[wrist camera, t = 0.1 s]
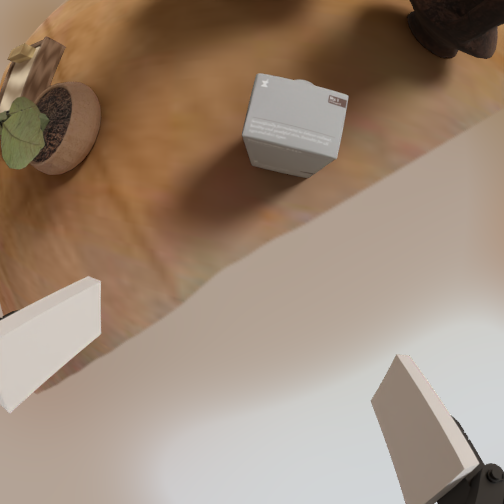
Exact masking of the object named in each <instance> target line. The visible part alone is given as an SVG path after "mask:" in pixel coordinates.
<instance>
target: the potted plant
mask: <svg viewBox="0 0 504 504" xmlns="http://www.w3.org/2000/svg"><path fill="white" fill-rule="evenodd" d="M100 122H101V107H100V104H99V100H98V98H97V96H96V94H95V93H94V92H93V90H92V89H91V88H90V87H88V86H87V85H85V84H83V83H80V82H64V83H58V84H55V85H52V86H50V87H49V88H47V89H46V90H44V91H43V92H42V93H41V94H40V95H39V97H38V98H37V99H36V101H35V102H32V101H31V100H29V99H27V98H26V97H17V98H16V99H15V100H14V101H13V102H12V104H11V107H10V109H9V110H8V111H4V112H2V113H0V135H1V149H2V157H3V159H4V160H5V162H6V164H7V165H8V167H9V168H13V169H22V168H25V167H26V166H27V165H28V164H29V163H30V164H31V165H32V166H34V167H35V168H36V169H37V170H39V171H41V172H43V173H46V174H48V175H57V174H63V173H65V172H67V171H69V170H71V169H73V168H75V167H76V166H77V165H78V164H79V163H81V162H82V161H83V160H84V158H85V157H86V156H87V155H88V153H89V152H90V150H91V148H92V146H93V144H94V143H95V140H96V137H97V135H98V132H99V128H100Z"/></svg>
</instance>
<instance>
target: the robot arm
mask: <svg viewBox="0 0 504 504" xmlns="http://www.w3.org/2000/svg"><path fill="white" fill-rule="evenodd" d="M100 301H101V281H99V280H97V279H94V278H91V277H89V276H88V277H86V278H83V279H81V280H79V281H77V282H75V283H73V284H71V285H69V286H67V287H65V288H63V289H61V290H58V291H56V292H54V293H52V294H50V295H48V296H46V297H44V298H42V299H40V300H38V301H36V302H34V303H33V304H31V305H29V306H27V307H25V308H23V309H21V310H17V311H13V312H10V313H8V314H7V315H5V316H3V318H0V405H1V406H3V407H4V409H5V410H7V411H8V412H9V413H11V412H12V411H13V410H14V409H15V408H16V407H17V406H18V405H19V404H21V403H22V402H23V401H24V400H25V399H26V398H27V397H28V396H29V395H30V394H32V393H33V392H34V391H35V390H36V389H37V388H38V387H39V386H41V385H42V384H43V383H44V382H45V381H46V380H47V379H49V378H50V377H51V376H52V375H53V374H54V373H55V372H57V371H58V370H59V369H60V368H61V367H62V366H64V365H65V364H66V363H67V362H68V361H69V360H71V359H72V358H73V357H74V356H75V355H76V354H78V353H79V352H80V351H81V350H82V349H84V348H85V347H86V346H87V345H88V344H90V343H91V342H92V341H93V340H94V339H96V338H97V337H98V336H99V335H100V334H101V307H100ZM371 403H372V406H373V408H374V411H375V414H376V416H377V419H378V422H379V424H380V427H381V430H382V433H383V435H384V438H385V441H386V443H387V447H388V449H389V453H390V455H391V458H392V461H393V464H394V467H395V471H396V473H397V477H398V480H399V483H400V486H401V490H402V493H403V496H404V500H405V503H406V504H434V503H436V502H437V503H438V504H504V472H503V470H502V469H501V468H500V467H499V466H497V465H496V464H492V463H490V464H486V465H484V463H483V462H482V460H481V458H480V456H479V455H478V453H477V451H476V449H475V448H474V446H473V444H472V443H471V441H470V440H468V436H467V435H466V433H464V430H463V428H462V427H461V425H460V423H459V422H458V421H457V420H455V418H453V417H452V416H451V415H450V413H449V412H448V410H447V409H446V408H445V406H444V404H443V403H442V401H441V400H440V398H439V397H438V395H437V394H436V392H435V391H434V389H433V388H432V386H431V385H430V384H429V382H428V381H427V379H426V378H425V377H424V375H423V373H422V372H421V371H420V369H419V368H418V367H417V365H416V364H415V362H414V361H413V360H412V358H411V357H410V356H407V355H399V354H397V355H396V356H395V358H394V360H393V362H392V364H391V366H390V368H389V370H388V372H387V374H386V375H385V377H384V379H383V381H382V383H381V384H380V386H379V388H378V390H377V391H376V393H375V395H374V397H373V398H372V400H371Z"/></svg>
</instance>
